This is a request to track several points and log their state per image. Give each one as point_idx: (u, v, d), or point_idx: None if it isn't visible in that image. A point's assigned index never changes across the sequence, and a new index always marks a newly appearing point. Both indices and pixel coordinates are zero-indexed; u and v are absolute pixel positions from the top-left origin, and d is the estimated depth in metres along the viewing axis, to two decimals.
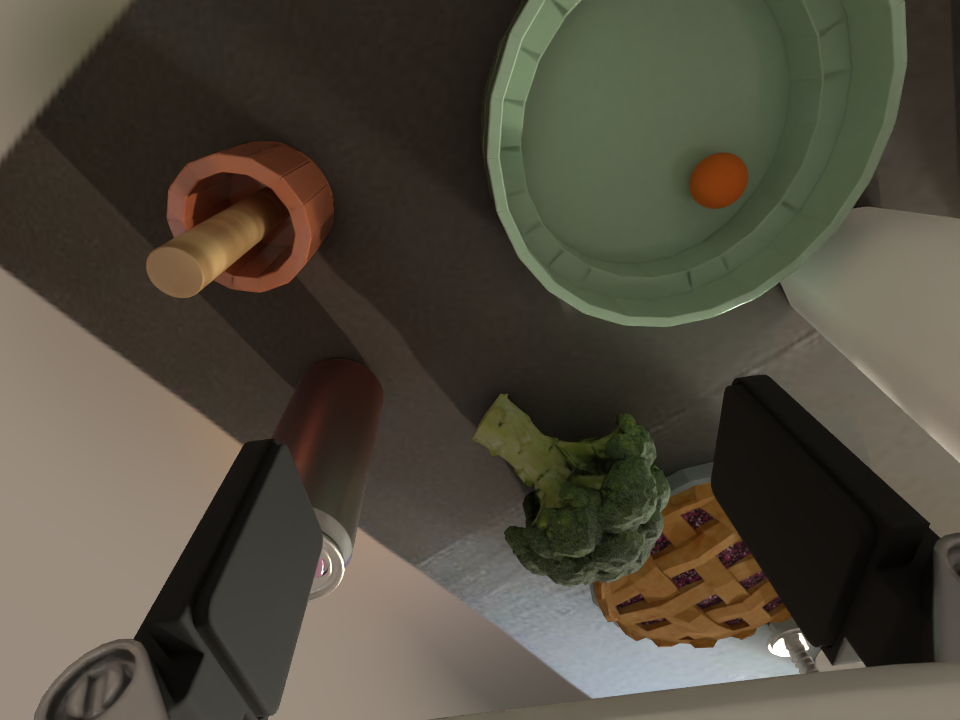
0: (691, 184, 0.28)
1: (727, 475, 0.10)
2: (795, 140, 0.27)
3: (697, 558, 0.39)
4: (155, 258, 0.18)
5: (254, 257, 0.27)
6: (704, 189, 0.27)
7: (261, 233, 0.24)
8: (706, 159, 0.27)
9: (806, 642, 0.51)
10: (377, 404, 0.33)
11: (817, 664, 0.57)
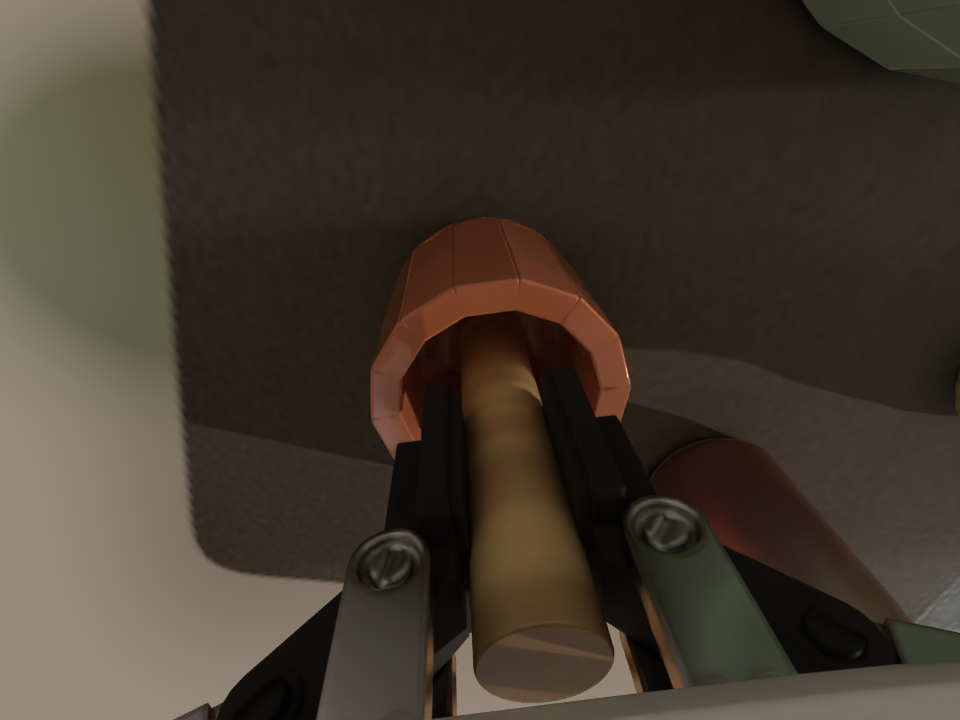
0: None
1: None
2: None
3: None
4: (491, 665, 0.07)
5: None
6: None
7: (537, 389, 0.12)
8: None
9: None
10: (796, 487, 0.19)
11: None
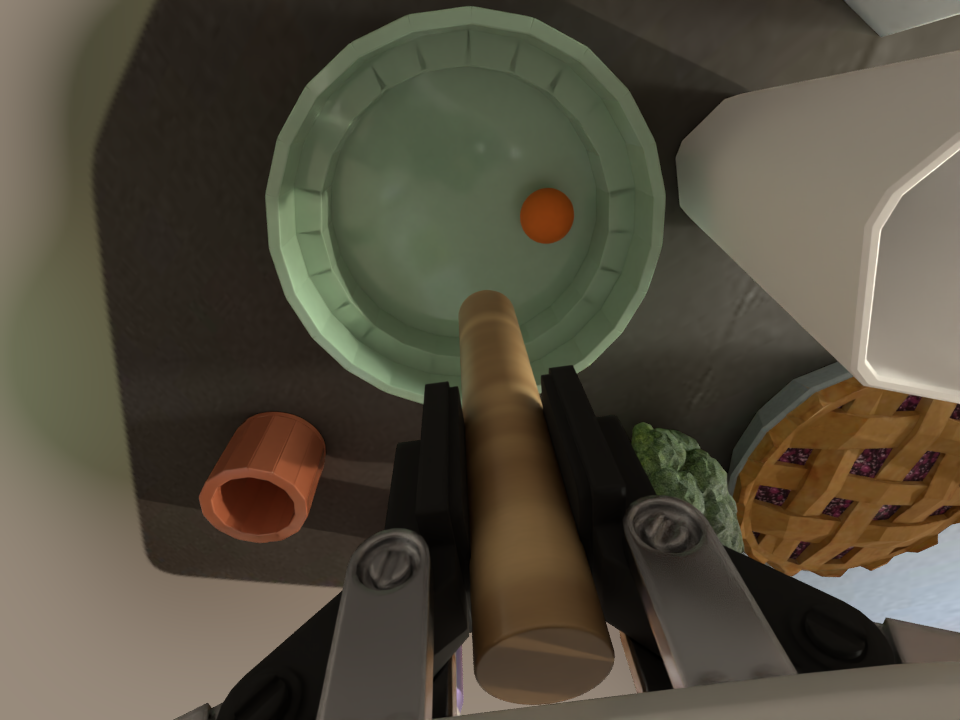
0: (527, 235, 0.28)
1: None
2: (582, 135, 0.26)
3: (826, 490, 0.36)
4: (491, 667, 0.07)
5: (288, 499, 0.35)
6: (536, 237, 0.27)
7: (537, 390, 0.12)
8: (521, 211, 0.27)
9: None
10: None
11: None
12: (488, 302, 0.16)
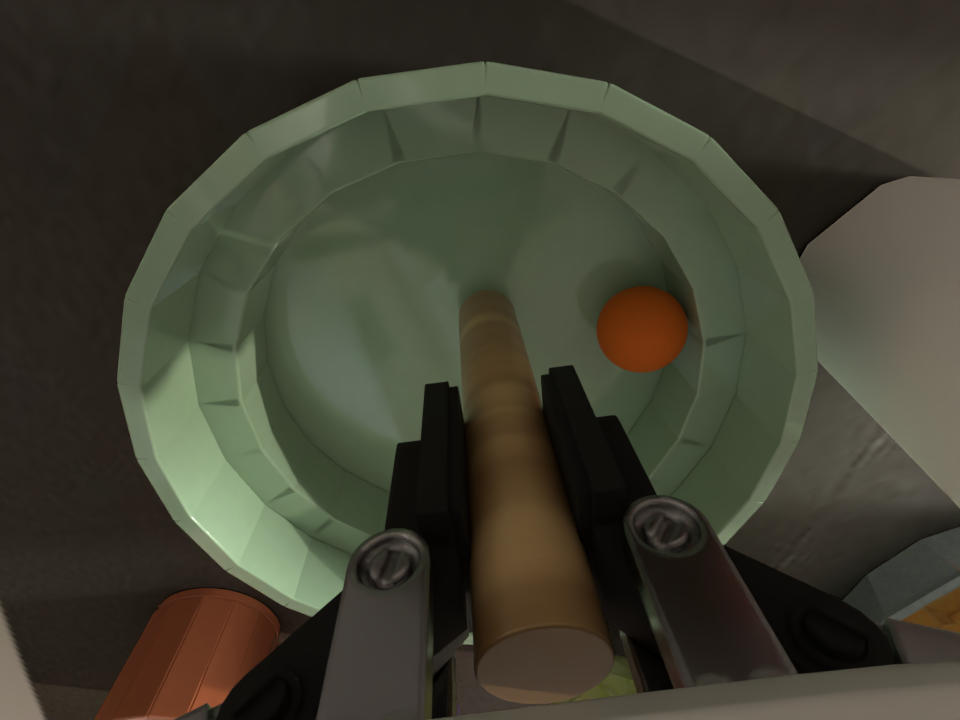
0: (643, 359, 0.16)
1: None
2: (662, 250, 0.16)
3: None
4: (492, 667, 0.07)
5: None
6: (671, 341, 0.16)
7: (537, 390, 0.12)
8: (621, 321, 0.16)
9: None
10: None
11: None
12: (488, 302, 0.16)
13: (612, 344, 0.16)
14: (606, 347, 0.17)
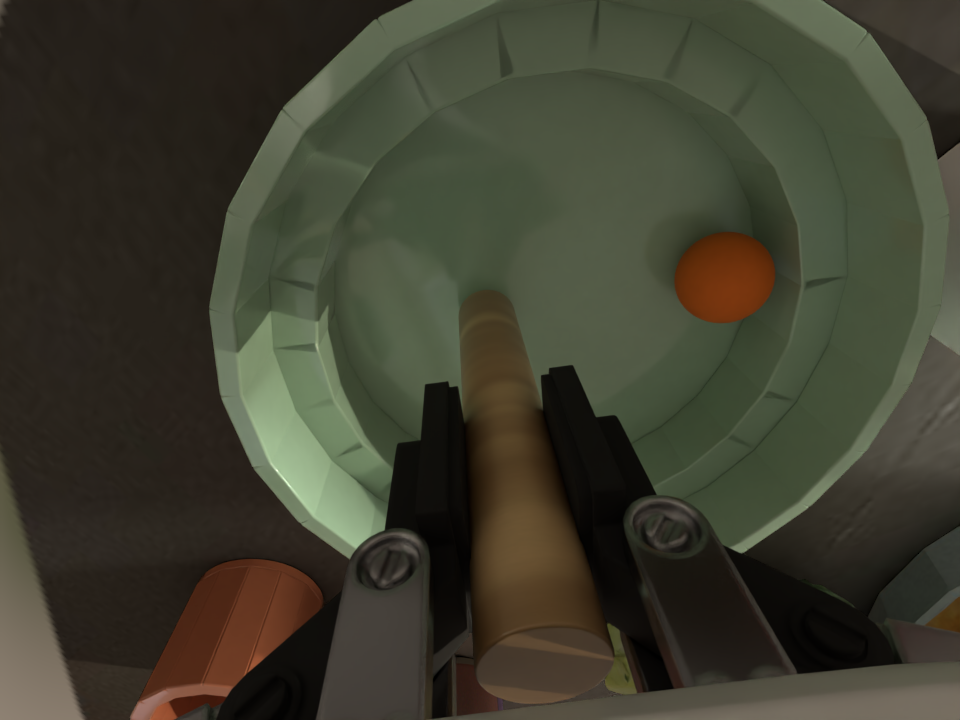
0: (721, 307, 0.15)
1: None
2: (761, 187, 0.15)
3: None
4: (491, 666, 0.07)
5: None
6: (754, 290, 0.15)
7: (537, 390, 0.12)
8: (701, 266, 0.15)
9: None
10: (485, 710, 0.28)
11: None
12: (488, 302, 0.16)
13: (689, 290, 0.16)
14: (683, 293, 0.16)
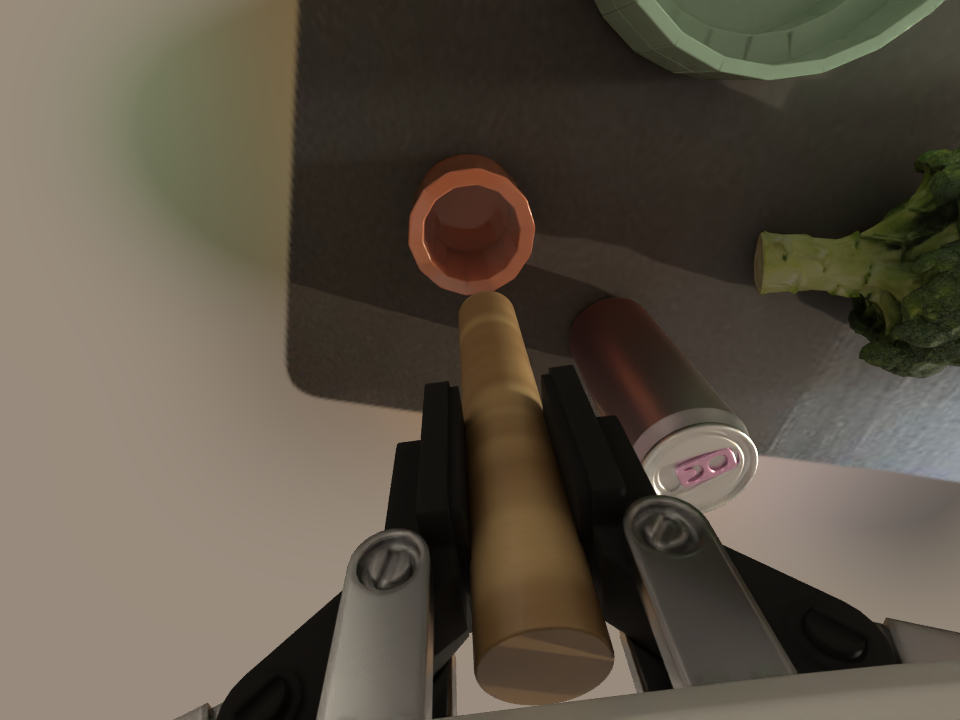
0: None
1: None
2: None
3: None
4: (491, 668, 0.07)
5: (485, 261, 0.29)
6: None
7: (537, 391, 0.12)
8: None
9: None
10: (651, 318, 0.32)
11: None
12: (488, 303, 0.16)
13: None
14: None
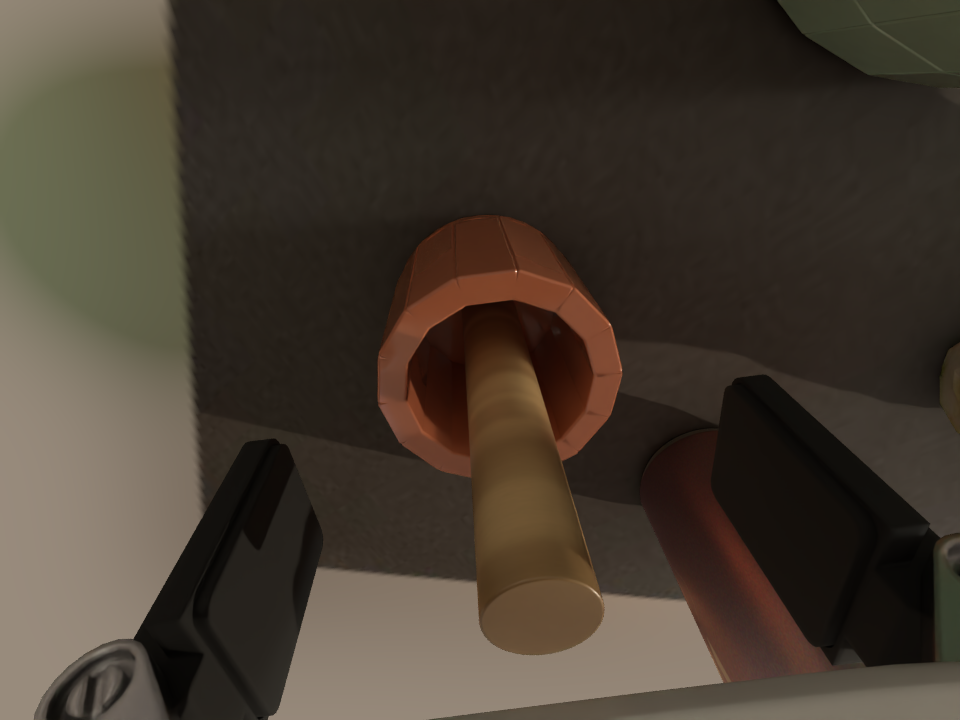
0: None
1: (727, 475, 0.10)
2: None
3: None
4: (494, 618, 0.08)
5: None
6: None
7: None
8: None
9: None
10: None
11: None
12: None
13: None
14: None
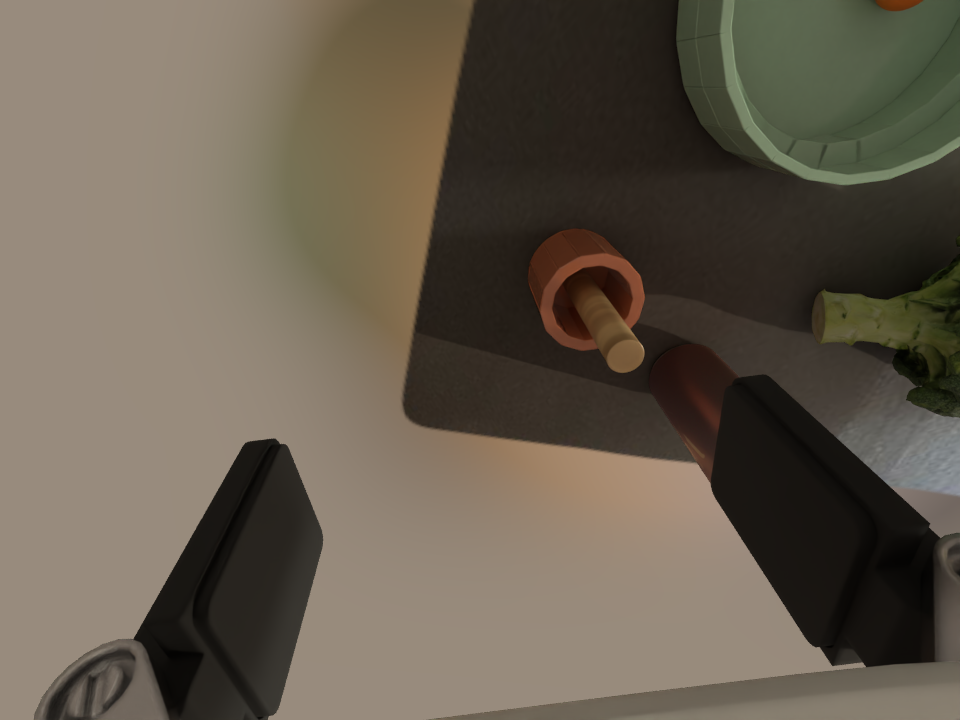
0: None
1: (727, 475, 0.10)
2: None
3: None
4: (611, 355, 0.26)
5: None
6: None
7: None
8: None
9: None
10: (726, 364, 0.38)
11: None
12: None
13: None
14: None
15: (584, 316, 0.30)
